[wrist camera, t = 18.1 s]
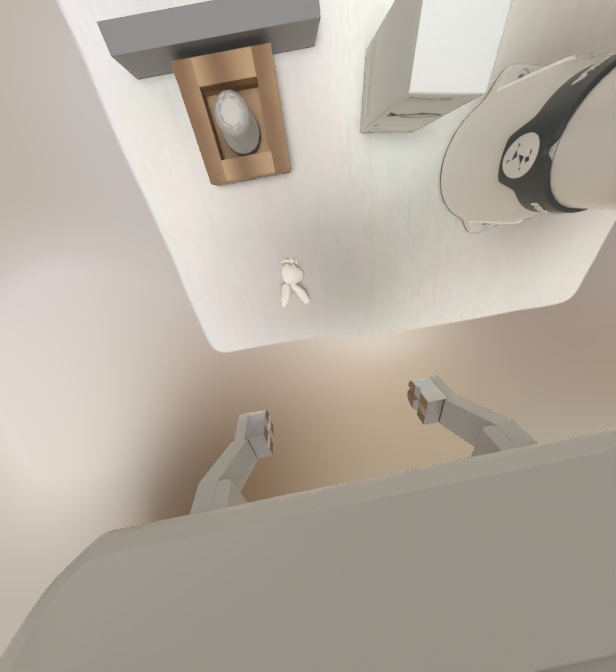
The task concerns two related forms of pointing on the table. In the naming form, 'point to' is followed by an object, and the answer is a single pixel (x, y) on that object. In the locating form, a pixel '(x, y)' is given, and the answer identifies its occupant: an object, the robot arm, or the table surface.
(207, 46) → the backstop board
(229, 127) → the rook chess piece
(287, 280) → the rabbit figurine
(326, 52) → the table surface
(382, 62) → the supplement box
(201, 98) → the socket block
